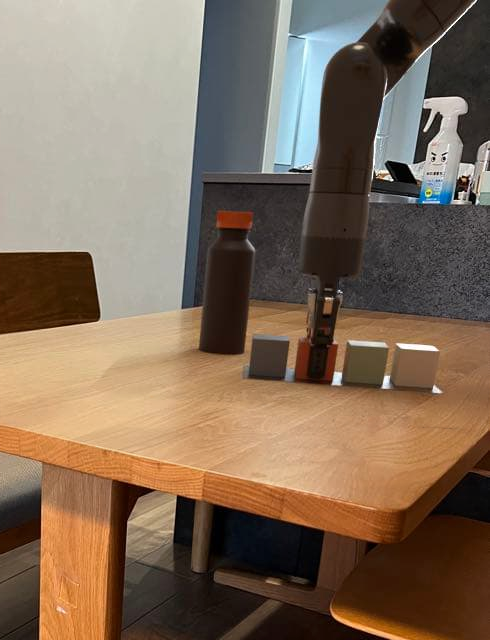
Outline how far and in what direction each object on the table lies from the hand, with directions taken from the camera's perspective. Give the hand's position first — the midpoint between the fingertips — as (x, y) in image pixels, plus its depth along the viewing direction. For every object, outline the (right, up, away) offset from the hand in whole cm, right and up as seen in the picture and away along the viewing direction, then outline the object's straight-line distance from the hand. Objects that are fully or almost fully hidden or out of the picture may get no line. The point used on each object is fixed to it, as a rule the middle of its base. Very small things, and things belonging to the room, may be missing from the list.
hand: (313, 374), depth 110 cm
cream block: (+12, -2, -2) cm, 12 cm away
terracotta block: (0, 0, 0) cm, 0 cm away
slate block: (-6, 0, +1) cm, 6 cm away
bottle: (-9, +6, +18) cm, 21 cm away
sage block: (+6, -1, -1) cm, 6 cm away
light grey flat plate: (+3, -1, 0) cm, 3 cm away
